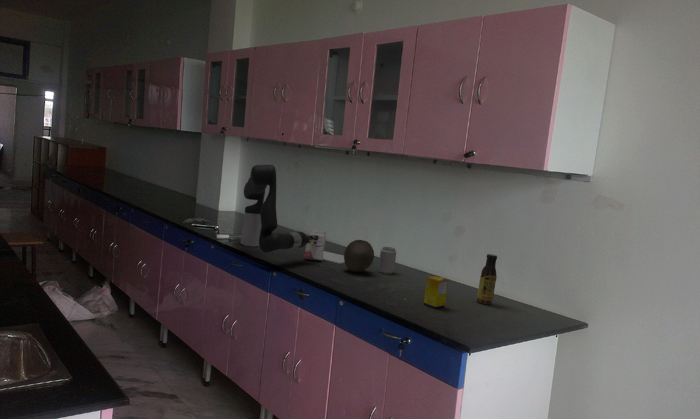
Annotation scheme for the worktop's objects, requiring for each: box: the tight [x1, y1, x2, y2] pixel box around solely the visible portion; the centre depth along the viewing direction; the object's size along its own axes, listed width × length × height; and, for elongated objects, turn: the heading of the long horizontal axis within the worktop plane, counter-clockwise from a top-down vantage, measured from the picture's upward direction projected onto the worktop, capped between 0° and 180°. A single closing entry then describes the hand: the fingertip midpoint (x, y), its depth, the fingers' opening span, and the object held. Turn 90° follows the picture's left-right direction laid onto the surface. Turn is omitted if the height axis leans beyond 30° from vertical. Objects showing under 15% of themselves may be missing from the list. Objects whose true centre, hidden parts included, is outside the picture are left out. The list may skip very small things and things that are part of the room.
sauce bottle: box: [476, 253, 498, 306], centre depth 216 cm, size 6×6×20 cm
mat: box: [303, 250, 345, 265], centre depth 276 cm, size 22×18×1 cm
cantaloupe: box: [343, 239, 375, 273], centre depth 247 cm, size 14×14×15 cm
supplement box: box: [423, 275, 449, 309], centre depth 204 cm, size 6×6×11 cm
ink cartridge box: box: [303, 229, 327, 262], centre depth 264 cm, size 9×5×15 cm, turn 84°
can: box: [377, 246, 397, 275], centre depth 254 cm, size 8×8×12 cm
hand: (316, 237), depth 262 cm, fingers closed
